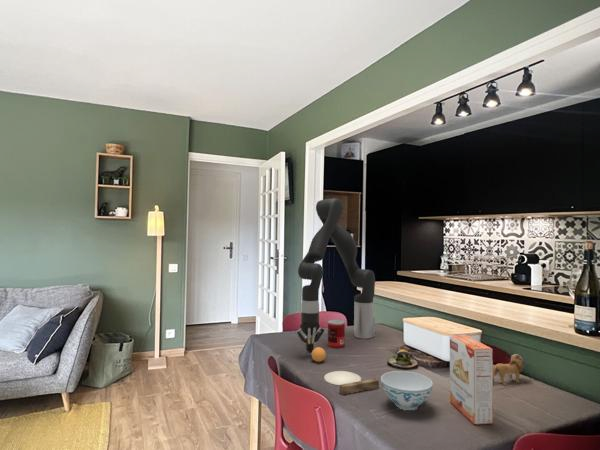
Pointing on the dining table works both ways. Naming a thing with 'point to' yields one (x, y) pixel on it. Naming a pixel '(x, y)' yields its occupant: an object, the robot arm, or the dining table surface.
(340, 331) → the canned food
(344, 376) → the disc
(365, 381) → the strip
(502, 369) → the lion figurine
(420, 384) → the chinaware
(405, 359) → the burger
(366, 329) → the robot arm
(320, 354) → the ball
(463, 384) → the cracker box
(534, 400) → the dining table surface
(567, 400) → the dining table surface
